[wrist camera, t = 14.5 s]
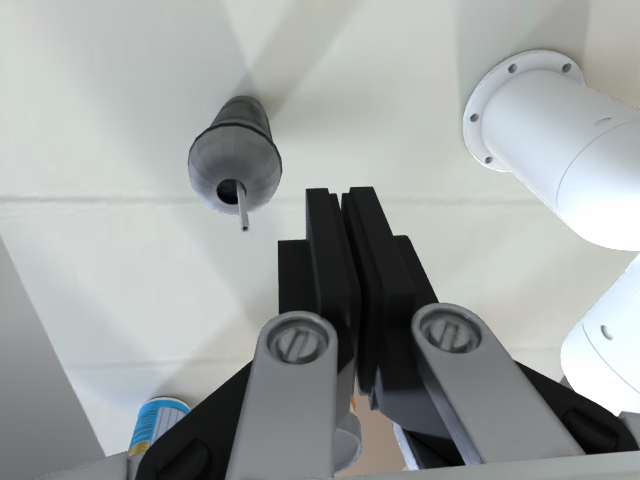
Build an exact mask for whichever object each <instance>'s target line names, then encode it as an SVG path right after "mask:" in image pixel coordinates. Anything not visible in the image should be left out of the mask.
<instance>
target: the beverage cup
mask: <svg viewBox="0 0 640 480" xmlns="http://www.w3.org/2000/svg"><path fill="white" fill-rule="evenodd" d="M188 171H189V176H190V181H191V185H192V187H193V189H194V191H195V192H196V194H197V196H198V197H199V199H200V200H201V201H202V202H203V203H205V204H206V205H207V206H208V207H209V208H211V209H213V210H215V211H217V212H219V213H221V214H226V215H231V216H238V215H240V223H241V230H242V231H243V232H247V231H248V230H249V222H248V214H249V213H252V212H255V211H257V210H258V209H260V208H261V207H262V206H264V205H265V204H266V203H268V202H269V200H270V199H271V197H272V196H273V194H274V193H275V191H276V189H277V186H278V185H279V182H280V178H281V175H282V161H281V157H280V154H279V152H278V150H277V147H276V145H275V144H274V143H273V140H272V136H271V131H270V127H269V122H268V118H267V116H266V113H265V110H264V108H263V107H262V105H261V104H260V103H259V102H258V101H256V100H255V99H253V98H251V97H247V96H237V97H235V98H232V99H230V100H229V101H228V102H227V103H226V104H225V105H224V106H223V107H222V109H221V110H220V112H219V113H218V115H217V116H216V118H215V119H214V121H213V123H212V124H211V126H210V127H209V128H207V129H206V130H205V131H204V132H203V133H201V134H200V135H199V136H198V137H197V138H196V139H195V141H194V143H193V145H192V146H191V148H190V150H189V157H188Z"/></svg>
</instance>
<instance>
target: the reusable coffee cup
mask: <svg viewBox="0 0 640 480" xmlns="http://www.w3.org/2000/svg"><path fill="white" fill-rule="evenodd" d="M354 412H355V403H354V399H353V397H351V403H350V414H349V415H348V417H347V418H346V419H345V420H344V421H343V422H342V424H341V425H340V426H339V427H338V428H337V430H336V431H335V452H334V474H336V473H338V472H341V471H343V470H345V469H347V468H348V467H350V466H351V465H353V464H354V463H355V462H356V461H357V460H358V459H359V457H360V455H361V453H362V434H361V425H360V421H359V420H358V418H357V416H355V413H354Z"/></svg>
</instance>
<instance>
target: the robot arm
mask: <svg viewBox="0 0 640 480" xmlns="http://www.w3.org/2000/svg"><path fill="white" fill-rule="evenodd" d="M510 66H511V67H510ZM509 67H510V68H509ZM472 115H473V116H472ZM471 116H472V117H471ZM462 129H463V137H464V141H465V143H466V146H467V148H468V150H469V151H470V153H471V154H472V156H473V157H474V158H475V159H476V160H477V161H478V162H480V163H481V164H482V165H484V166H485V167H488V168H490V169H493V170H497V171H503V172H507V171H511V172H512V173H513V174H514V175H515V176H516V177H517V178H518V179H519V180H521V181H522V182H523V183H524V184H525V185H526V186H527V187H528V188H529V189H530V190H531V191H532V192H533V193H534V194H535V195H536V196H537V197H539V198H540V199H541V200H542V201H543V202H544V203H545V204H546V205H547V206H548V207H549V208H550V209H551V210H552V211H553V212H554V213H555V214H556V215H558V216H559V217H560V218H561V219H562V220H563V221H564V222H565V223H566V224H567V225H568V226H569V227H571V228H572V229H573V230H574V231H575V232H576V233H577V234H579V235H580V236H581V237H583V238H585V239H586V240H588V241H590V242H592V243H595V244H598V245H601V246H604V247H608V248H614V249H621V250H635V251H640V109H638V108H636V107H633V106H631V105H629V104H627V103H624V102H622V101H620V100H618V99H615V98H613V97H611V96H609V95H606V94H604V93H602V92H600V91H597V90H595V89H593V88H591V87H588V86H586V82H585V78H584V76H583V73H582V71H581V69H580V68H579V67H578V66H577V64H576V63H575V62H574V61H573V60H571V59H570V58H568V57H567V56H565V55H563V54H560V53H558V52H554V51H550V50H531V51H526V52H522V53H519V54H517V55H514V56H512V57H509V58H508V59H506V60H505V61H503V62H501V63H500V64H498V65H497V66H496V67H494V68H493V69H492V70H491V71H490V72H489V73H487V75H486V76H485V77H484V78H483V79H482V80H481V81H480V83H479V84H478V85H477V87H476V88H475V90H474V91H473V93H472V95H471V97H470V99H469V101H468V103H467V106H466V109H465V113H464V117H463V128H462ZM278 282H279V315H278V316H276V317H275V318H273V319H271V320H270V321H269V322H268V323H267V324H266V325H265V326H264V327H263V328H262V330H261V332H260V335H259V337H258V341H257V345H256V350H255V354H254V358H253V360H252V361H251V362H249V363H248V364H247V365H246V366H244V367H243V368H242V369H241V370H240V371H238V372H237V373H236V374H235V375H234V376H232V377H231V378H230V379H229V380H228V381H226V382H225V383H224V384H223V385H222V386H220V387H219V388H218V389H217V390H216V391H214V392H213V393H212V394H211V395H210V396H208V397H207V398H206V399H205V400H204V401H202V402H201V403H200V404H199V405H198V406H196V407H195V408H194V409H193V410H192V411H190V412H189V413H188V414H187V415H186V416H184V417H183V418H182V419H181V420H179V421H178V422H177V423H176V424H175V425H173V426H172V427H171V428H170V429H169V430H167V431H166V432H165V433H164V434H163V435H161V436H160V437H159V438H158V439H157V440H156V441H155V442H154V443H153V444H152V445H151V446H150V447H149V448H148V449H147V451H146V452H142V453H139V454H136V455H132V456H129V454H128V452H127V451H125V452H122V453H118V454H115V455H112V456H108V457H105V458H102V459H98V460H95V461H92V462H88V463H85V464H81V465H78V466H75V467H71V468H68V469H65V470H61V471H58V472H55V473H51V474H48V475H44V476H41V477H38V478H35V479H31V480H640V253H639V254H638V255H637V257H636V258H635V259H634V260H633V261H632V262H631V264H630V265H629V266H628V267H627V268H626V271H625V272H624V273H623V274H622V275H621V276H620V277H619V278H618V280H617V281H616V282H615V283H614V284H613V285H612V286H611V287H610V288H609V289H608V290H607V291H606V292H605V293H604V294H603V296H602V297H601V298H600V299H599V300H598V301H597V302H596V303H595V304H594V305H593V306H592V307H591V308H590V309H589V310H588V312H587V313H586V314H585V315H584V316H583V317H582V318H581V319H580V320H579V321H578V322H577V324H576V325H575V326H574V327H573V328H572V330H571V331H570V332H569V334H568V335H567V337H566V339H565V341H564V343H563V346H562V350H561V364H562V367H563V371H564V373H565V375H566V377H567V379H568V381H569V383H570V384H571V386H572V387H573V388H574V390H575V391H576V392H575V391H573V390H571V389H569V388H567V387H565V386H563V385H561V384H559V383H558V382H556V381H554V380H552V379H550V378H548V377H546V376H544V375H542V374H540V373H538V372H536V371H534V370H532V369H531V368H529V367H527V366H525V365H523V364H521V363H519V362H517V361H515V360H513V359H512V357H511V356H510V355H509V353H508V352H507V351H506V350H505V348H504V347H503V346H502V344H501V343H500V342H499V340H498V339H497V338H496V337H495V335H494V334H493V333H492V331H491V330H490V329H489V327H488V326H487V325H486V324H485V322H484V321H483V320H482V319H481V318H480V317H479V316H478V315H476V314H475V313H473V312H471V311H470V310H468V309H466V308H463V307H461V306H458V305H455V304H449V303H439V301H438V299H437V297H436V295H435V293H434V290H433V288H432V286H431V284H430V282H429V280H428V278H427V275H426V273H425V271H424V269H423V267H422V265H421V263H420V260H419V258H418V256H417V254H416V252H415V250H414V247H413V245H412V243H411V241H410V239H409V238H408V236H406V235H397V236H393V234H392V231H391V229H390V227H389V224H388V222H387V219H386V217H385V215H384V212H383V210H382V207H381V205H380V202H379V200H378V198H377V195H376V193H375V190H374V188H373V187H351V188H350V191H349V193H342V200H341V210H340V206H339V202H338V198H337V194H336V193H333V194H329V191H328V188H313V189H306V239H305V240H282V241H278ZM355 376H356V380H357V386H358V391H359V395H360V396H366V395H368V400H369V404H370V409H371V410H380V412H381V413H382V414H384V415H385V416H387V417H388V418H390V419H391V420H392V421H393V429H394V433H395V436H396V439H397V441H398V443H399V446H400V448H401V451H402V453H403V456H404V458H405V461H406V463H407V466H408V468H409V471H400V472H389V473H378V474H367V475H356V476H345V477H334V452H335V431H336V430H337V428H338V427H339V426H340V425H341V424H342V422H343V421H344V420H345V419H346V418H347V417H348V415H349V414H350V403H351V397H353V393H354V382H355Z"/></svg>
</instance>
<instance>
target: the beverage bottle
mask: <svg viewBox="0 0 640 480" xmlns="http://www.w3.org/2000/svg"><path fill="white" fill-rule="evenodd" d="M190 411H191V409H190V407H189V406H188V405H187V404H186V403H184V402H183V401H181V400H178V399H175V398H170V397H160V398H154V399H151V400H149V401H147V402H146V403H144V404H143V405H142V407H141V408H140V410H139V414H138V419H137V423H136V426H135V429H134V433H133V436H132V440H131V443H130V446H129V450H128V454H129V456H132V455H136V454H139V453H142V452H146V451H147V449H148V448H149V447H150V446H151V445H152V444H153V443H154V442H155V441H156V440H157V439H158V438H159V437H160V436H161V435H163V434H164V433H165V432H166V431H167V430H169V429H170V428H171V427H172V426H173V425H175V424H176V423H177V422H178V421H179V420H181V419H182V418H183V417H184V416H186V415H187V414H188V413H189V412H190Z"/></svg>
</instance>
